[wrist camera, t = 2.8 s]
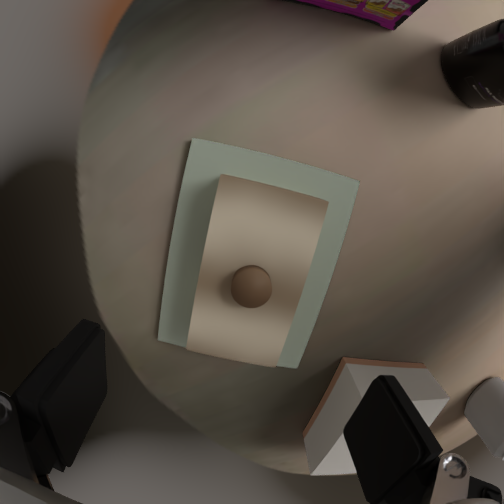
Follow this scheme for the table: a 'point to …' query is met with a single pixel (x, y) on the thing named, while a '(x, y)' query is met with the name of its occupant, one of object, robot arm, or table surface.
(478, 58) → the supplement bottle
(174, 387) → the table surface
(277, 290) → the lid
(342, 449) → the gray block
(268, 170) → the mat
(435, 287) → the table surface
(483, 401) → the can
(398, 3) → the candy bar box
